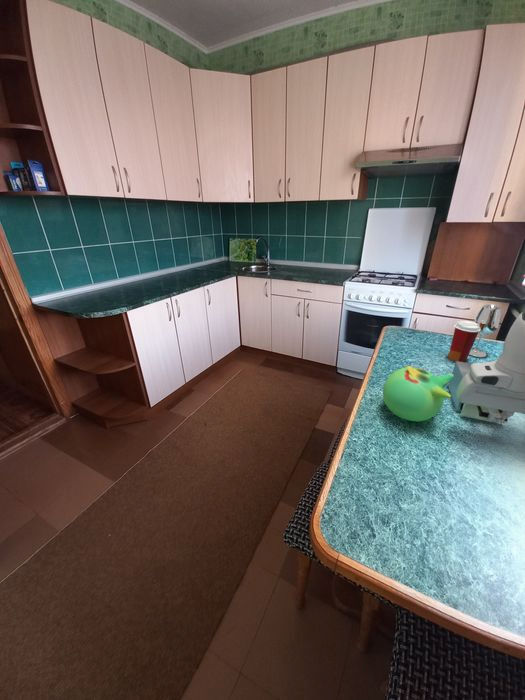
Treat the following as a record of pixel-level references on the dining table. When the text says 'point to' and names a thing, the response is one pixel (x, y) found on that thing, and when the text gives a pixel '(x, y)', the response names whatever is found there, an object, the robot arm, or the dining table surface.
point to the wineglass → (486, 325)
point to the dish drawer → (477, 411)
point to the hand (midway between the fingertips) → (495, 420)
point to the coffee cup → (463, 340)
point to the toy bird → (415, 393)
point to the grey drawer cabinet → (458, 381)
